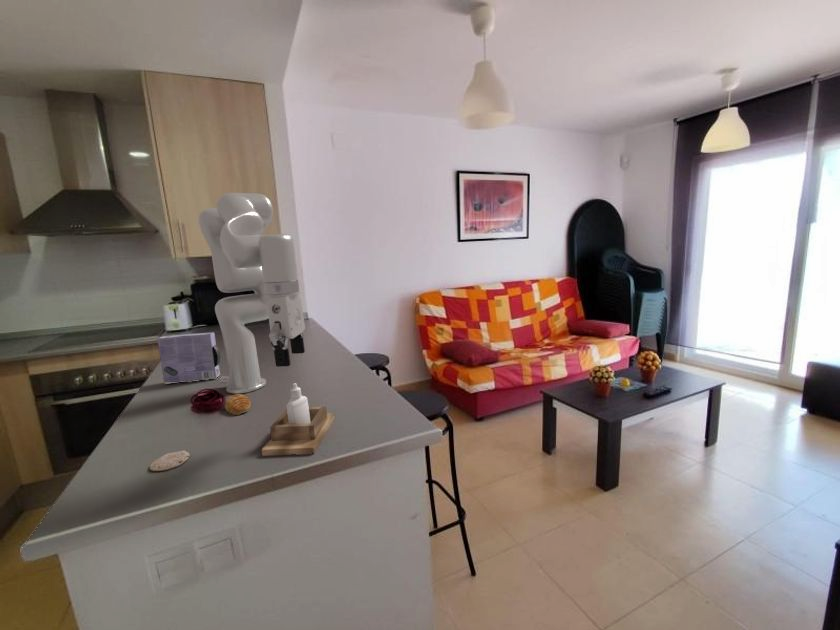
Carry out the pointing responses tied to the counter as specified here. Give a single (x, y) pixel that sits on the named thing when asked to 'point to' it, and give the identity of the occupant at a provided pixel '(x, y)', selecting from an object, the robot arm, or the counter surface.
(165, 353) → the cake pan box
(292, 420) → the eye dropper bottle
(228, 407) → the pastry
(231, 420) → the counter surface
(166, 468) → the flatbread
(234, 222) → the robot arm
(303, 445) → the holder stand
